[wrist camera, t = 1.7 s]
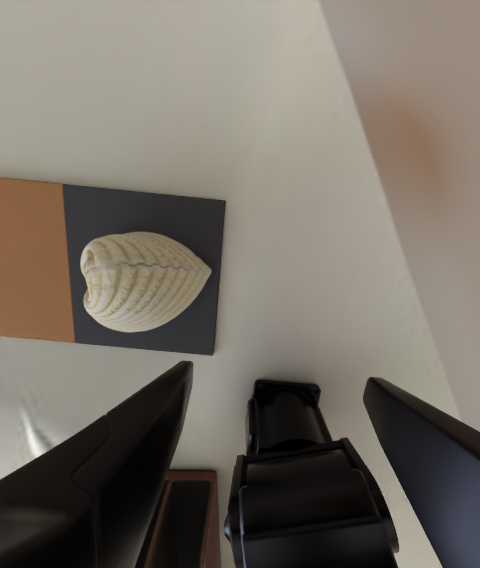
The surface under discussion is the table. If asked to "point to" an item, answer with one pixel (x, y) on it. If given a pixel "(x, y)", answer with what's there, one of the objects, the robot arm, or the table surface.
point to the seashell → (140, 280)
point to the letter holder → (184, 524)
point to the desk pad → (67, 256)
